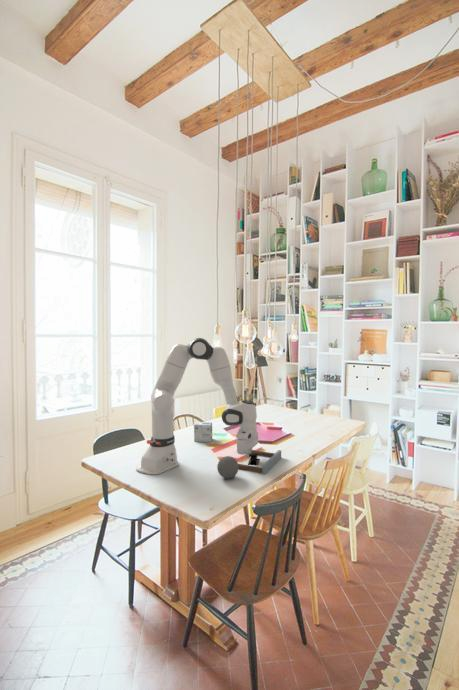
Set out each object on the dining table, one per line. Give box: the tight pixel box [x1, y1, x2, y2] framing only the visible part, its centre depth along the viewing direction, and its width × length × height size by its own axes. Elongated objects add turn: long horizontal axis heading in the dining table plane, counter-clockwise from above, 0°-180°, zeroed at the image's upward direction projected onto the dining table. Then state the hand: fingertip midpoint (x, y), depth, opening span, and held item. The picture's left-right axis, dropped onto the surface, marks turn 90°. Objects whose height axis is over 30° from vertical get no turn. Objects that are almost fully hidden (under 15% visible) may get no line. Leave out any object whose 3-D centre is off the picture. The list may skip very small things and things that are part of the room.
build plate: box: [247, 453, 261, 466], centre depth 192 cm, size 12×7×5 cm, turn 169°
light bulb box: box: [193, 421, 213, 443], centre depth 228 cm, size 11×7×11 cm, turn 84°
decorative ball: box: [216, 455, 239, 480], centre depth 173 cm, size 10×10×10 cm
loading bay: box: [238, 449, 282, 475], centre depth 193 cm, size 24×26×4 cm
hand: (248, 457), depth 193 cm, fingers closed
